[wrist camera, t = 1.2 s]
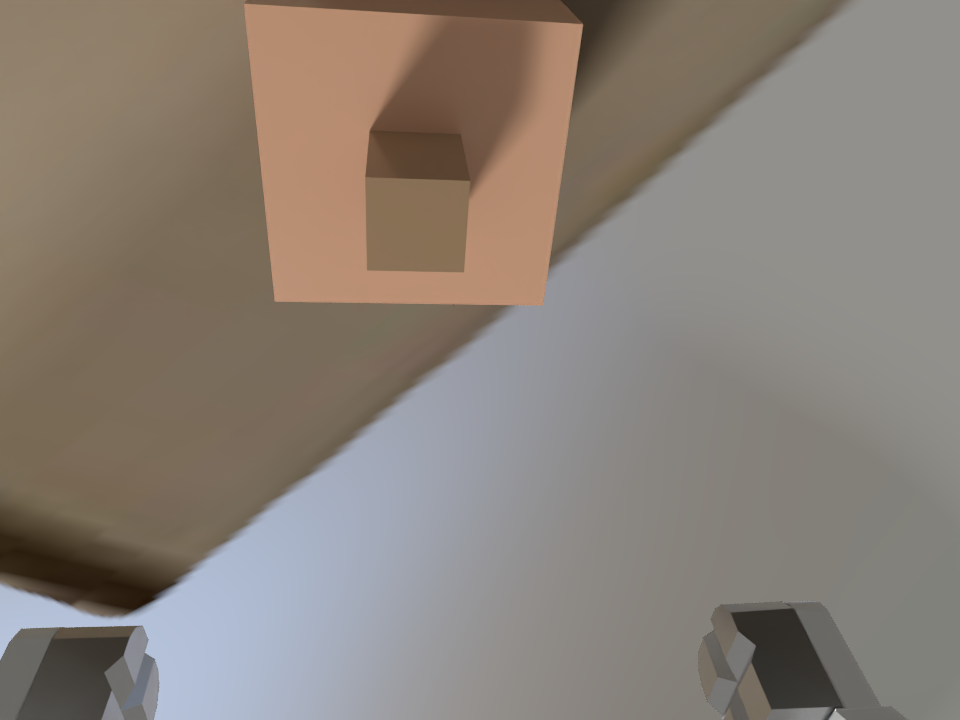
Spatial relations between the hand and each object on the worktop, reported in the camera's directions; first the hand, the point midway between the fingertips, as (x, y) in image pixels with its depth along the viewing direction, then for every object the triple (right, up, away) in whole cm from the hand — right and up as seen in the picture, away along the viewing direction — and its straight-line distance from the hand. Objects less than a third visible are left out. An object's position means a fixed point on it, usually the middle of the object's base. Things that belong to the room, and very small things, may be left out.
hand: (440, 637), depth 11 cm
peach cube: (-3, +17, +23) cm, 29 cm away
